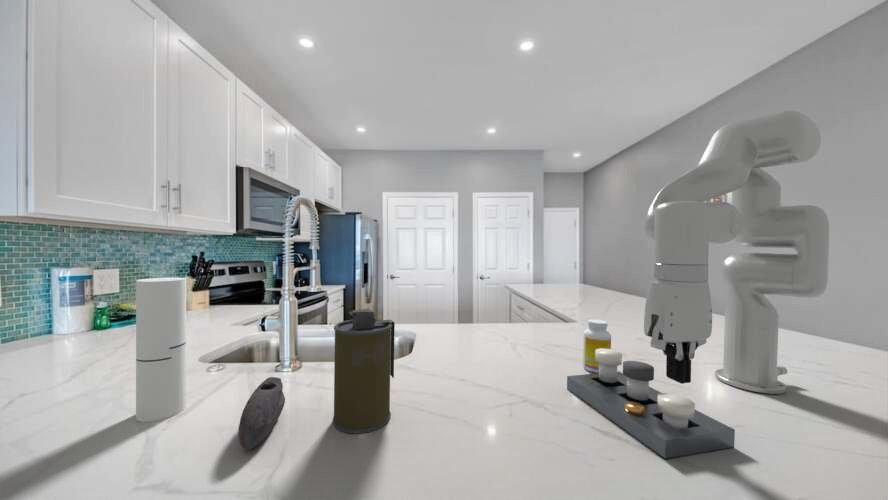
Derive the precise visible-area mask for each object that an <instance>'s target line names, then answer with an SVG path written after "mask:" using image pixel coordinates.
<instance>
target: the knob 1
mask: <svg viewBox="0 0 888 500" xmlns="http://www.w3.org/2000/svg"><path fill="white" fill-rule="evenodd" d="M595 360H596V361H597V362H599V379H600V380H602V381H604V382H608V383H616V382H617V372H618V367H619V366H621V365H623V353H622V352H621V351H619V350H615V349H612V348H611V349H604V348H601V349H596V350H595Z"/></svg>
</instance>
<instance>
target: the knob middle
mask: <svg viewBox="0 0 888 500" xmlns="http://www.w3.org/2000/svg"><path fill="white" fill-rule="evenodd" d="M622 373H623V374H624V375H625V376H626V377H627V395H628V396H629V397H631V398H633V399H637V400H648V390H649V387H650V386H649V384H650V382H652V381H653V380H655V367H654V366H653V365H652V364H649V363H647V362H643V361H637V360H625V361H622Z"/></svg>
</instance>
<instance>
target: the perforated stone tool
mask: <svg viewBox="0 0 888 500" xmlns="http://www.w3.org/2000/svg"><path fill="white" fill-rule="evenodd" d="M283 389H284V388H283V382H282V378H280V377H273V376H269V377H267V378H266V379H265V380H264V381H262V382H261V383H260V384H259V385H258V386H257V387H256V388H255V389H254V391H253V392H252V394H251V395H250V396H249V398H248V400H247V402H246V404H245V406H244V409H243V410H242V412H241V416H240V420H239V424H238V440H239V444H240V445H241V448H243V449H244V450H247V451H248V450H251V449H253V448H255V447H257V446H258V445H259V444H260V443H262V441H264V439H265V438H266V437H267V436H268V435H269V433H270V432H271V430H272V429H273V427H274V426H275V424H276V422H277V421H278V420H279V418H280V416H281V414H282V411H283V410H284V406H285V403H286V397H285V394H284V392H283Z"/></svg>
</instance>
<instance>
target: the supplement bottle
mask: <svg viewBox="0 0 888 500" xmlns="http://www.w3.org/2000/svg"><path fill="white" fill-rule="evenodd" d="M587 326H588V328H586V329H585V330H584V332H583V340H582V341H583V344H582V345H583V346H582V350H583V351H582V367H583V368H584V369H585V370H586V371H588V372H590V373H592V374H597V373H599V362H597V361H596V360H595V350H596V349H601V348H604V349H612V334H611V333H610V332H609V331H607V328H608V322H607V321H605V320H602V319H595V318H594V319H592V318H591V319H588V320H587Z"/></svg>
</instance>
